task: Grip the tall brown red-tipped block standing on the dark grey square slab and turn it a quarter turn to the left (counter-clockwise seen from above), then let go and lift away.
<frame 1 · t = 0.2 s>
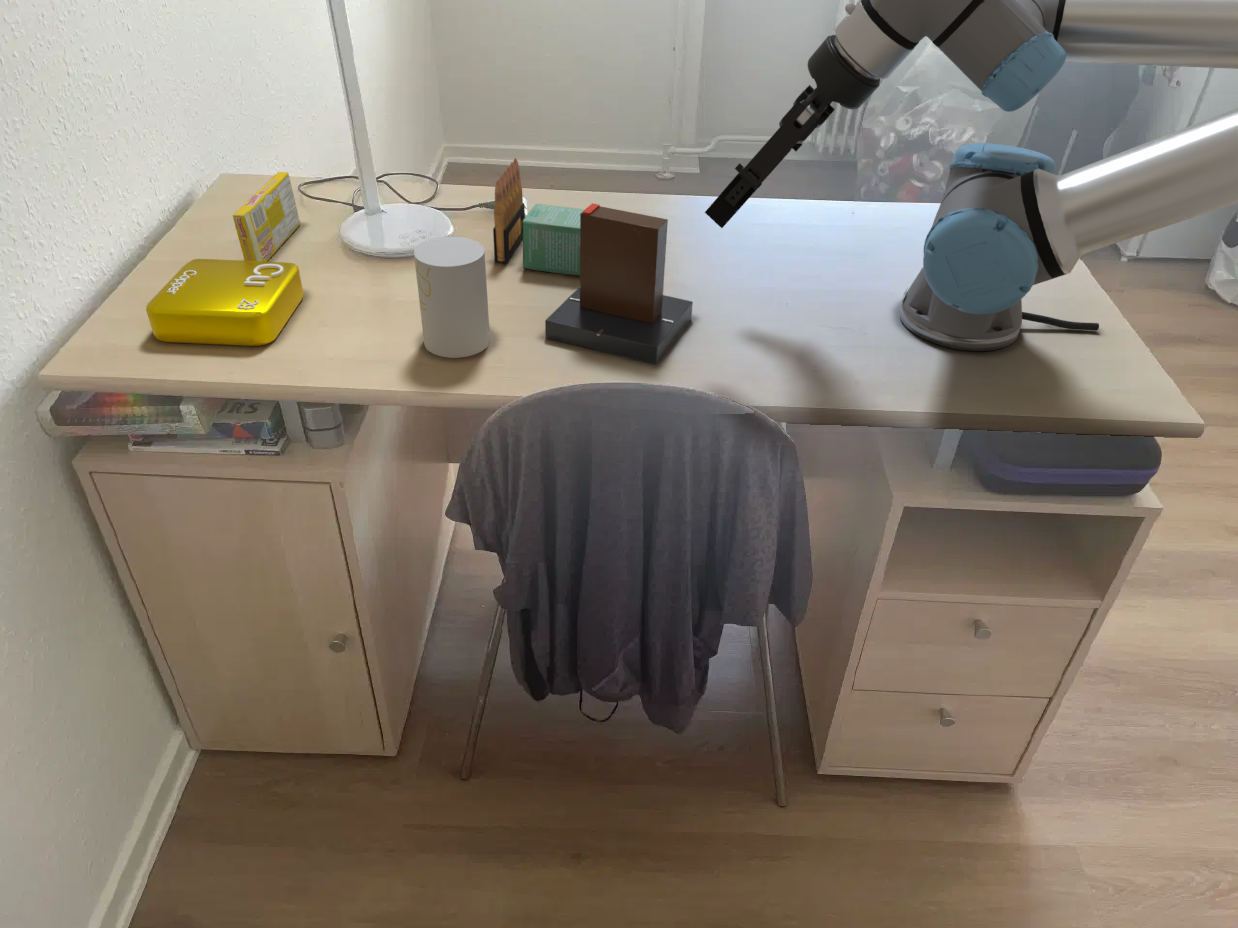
hand: (731, 200, 111), 16 cm above the table, tool tilted 35°, fingers open, 13 cm apart
ammunition clip: (510, 249, 137), on the table
dark grey square slab: (620, 328, 119), on the table
element tile: (233, 317, 118), on the table
candy box: (274, 248, 135), on the table
box: (574, 266, 133), on the table
brown red-tipped block: (622, 264, 113), point 9 cm above the table, hinge at 0.0°
cup: (457, 342, 115), on the table
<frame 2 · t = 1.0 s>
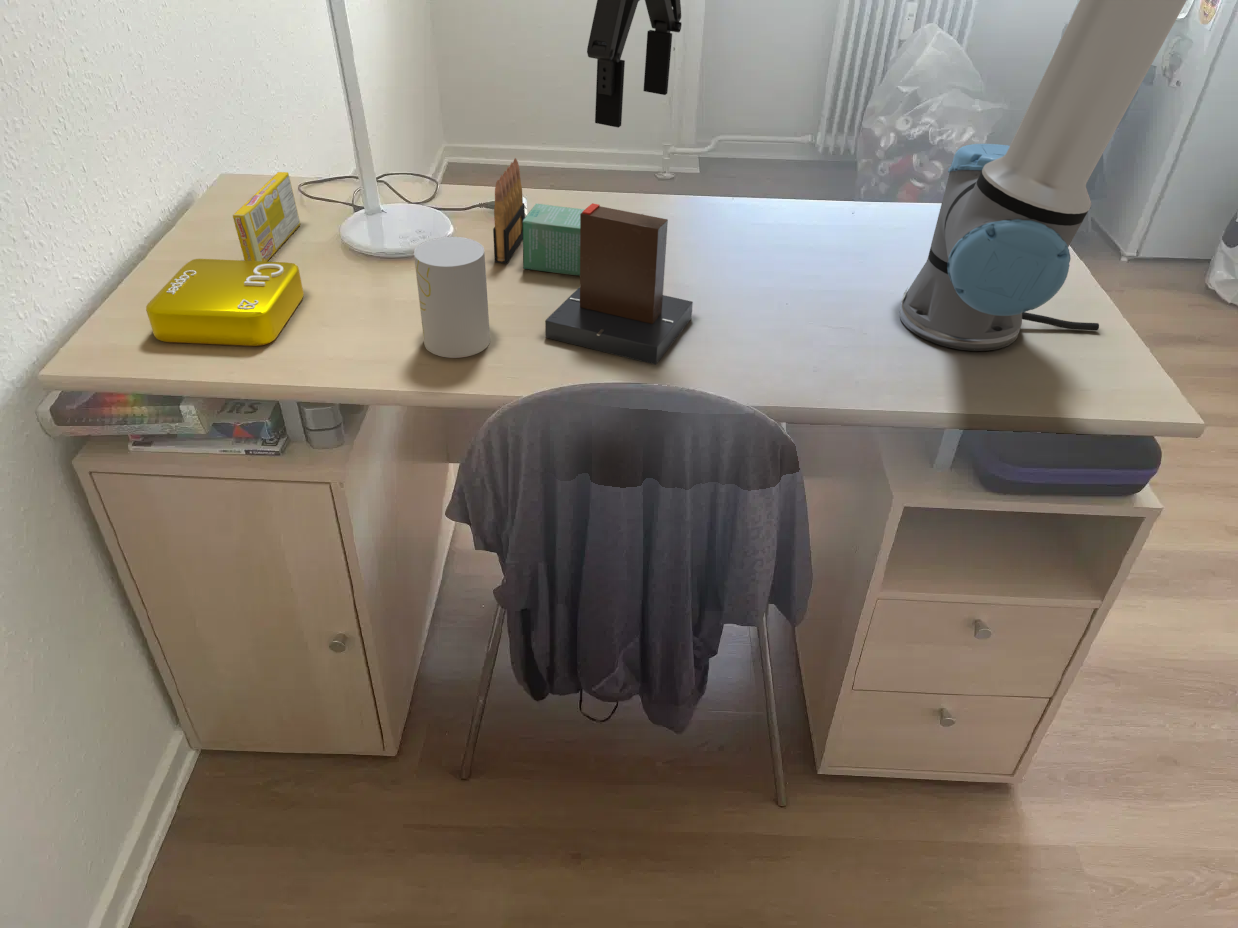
hand: (632, 108, 102), 28 cm above the table, tool pointing down, fingers open, 13 cm apart
nothing on the table moved.
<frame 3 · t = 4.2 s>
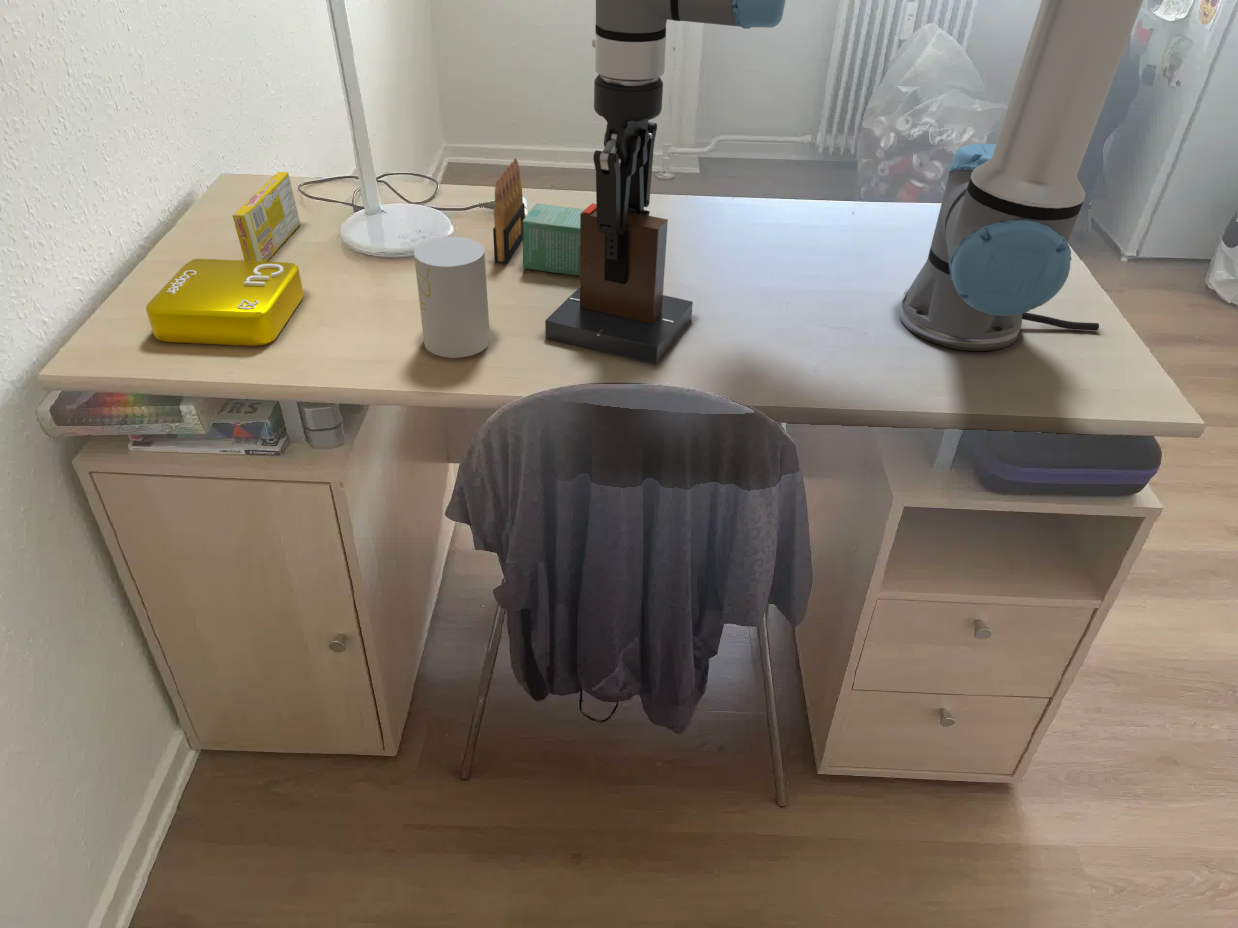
hand: (621, 274, 114), 8 cm above the table, tool pointing down, fingers closed on brown red-tipped block, 3 cm apart
brown red-tipped block: (622, 264, 113), point 9 cm above the table, hinge at 0.0°, touching gripper
everything else where it was.
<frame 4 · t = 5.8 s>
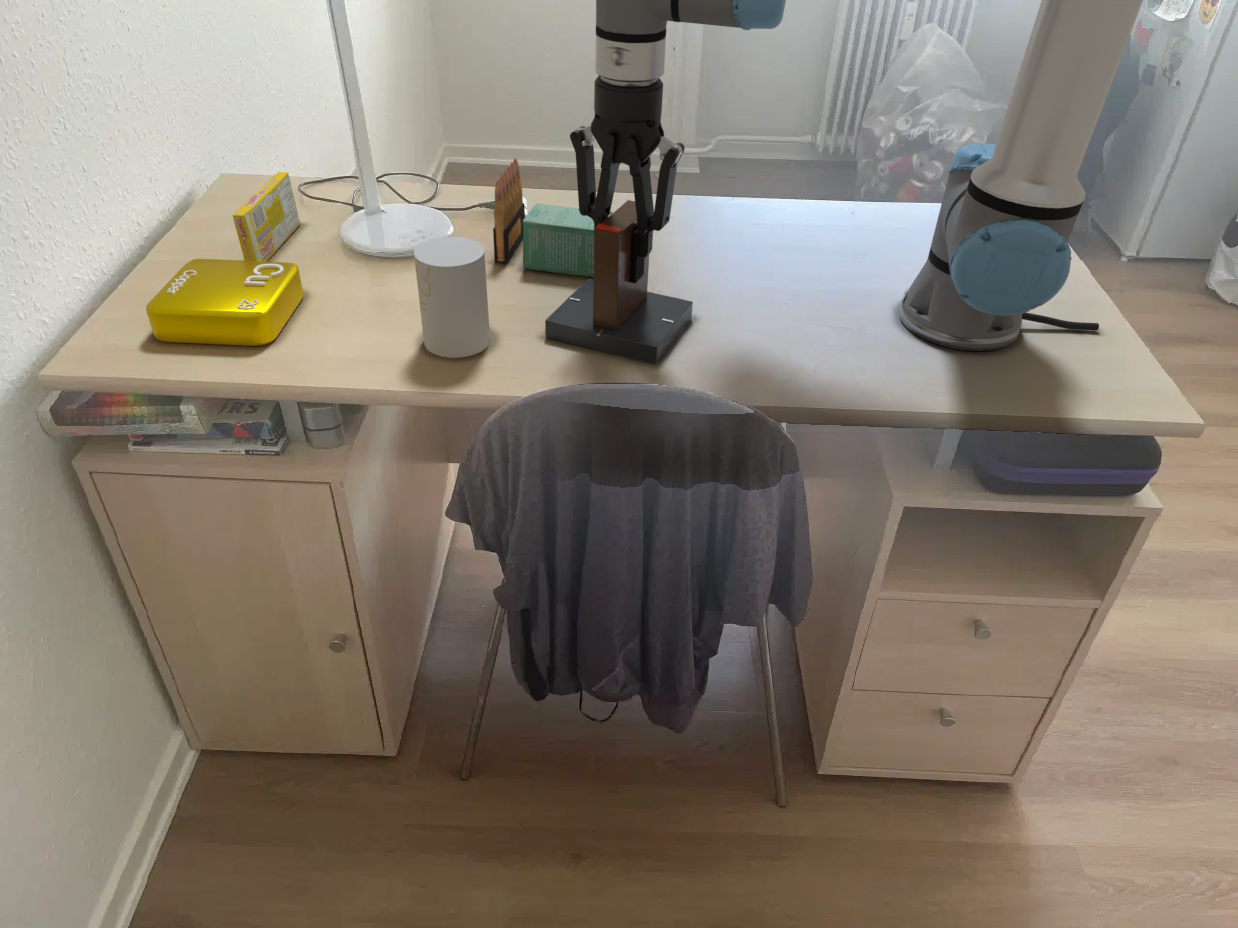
hand: (621, 274, 114), 7 cm above the table, tool pointing down, fingers open, 3 cm apart
brown red-tipped block: (622, 264, 113), point 9 cm above the table, hinge at 89.3°
everything else where it was.
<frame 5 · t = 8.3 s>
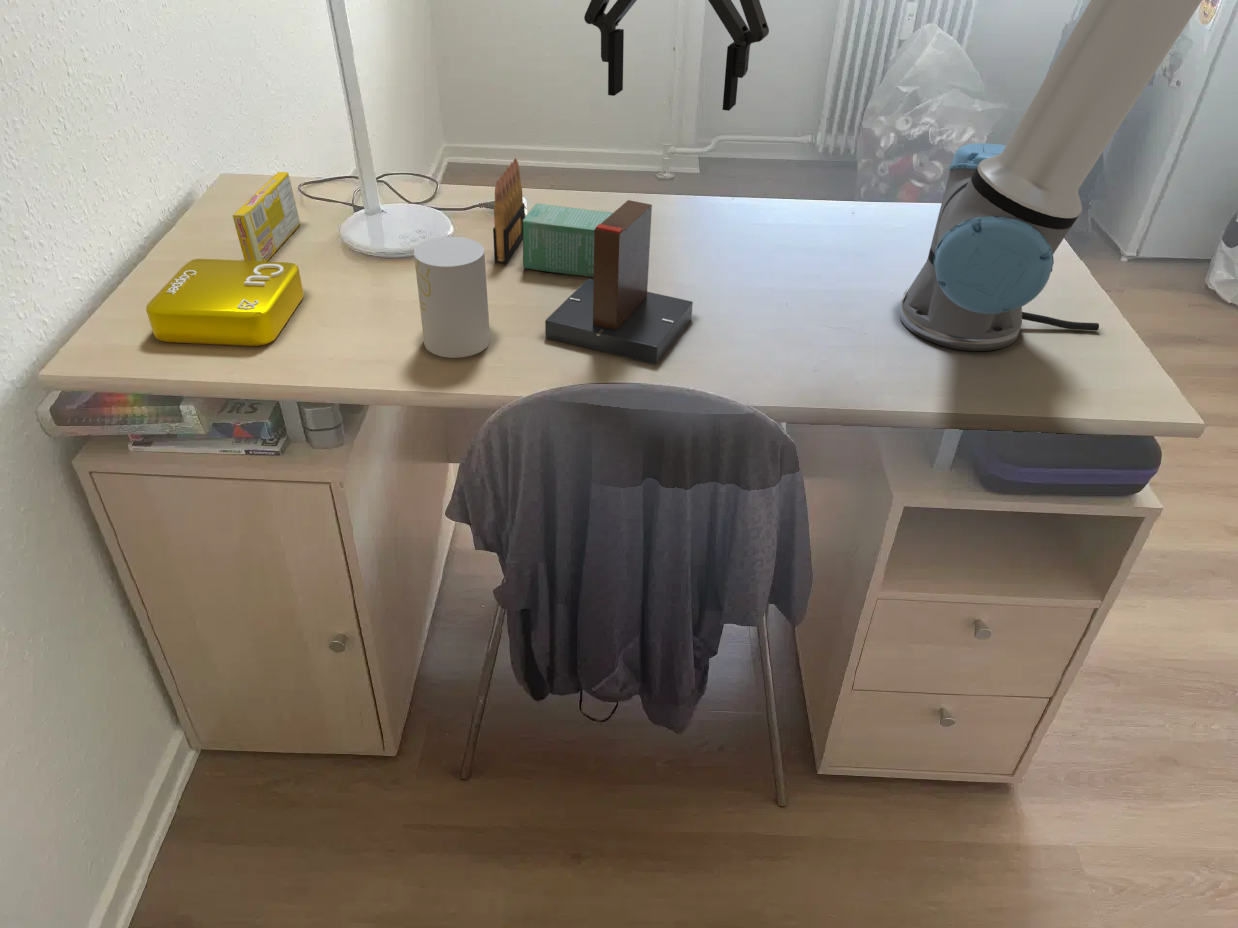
hand: (671, 100, 104), 28 cm above the table, tool pointing down, fingers open, 13 cm apart
nothing on the table moved.
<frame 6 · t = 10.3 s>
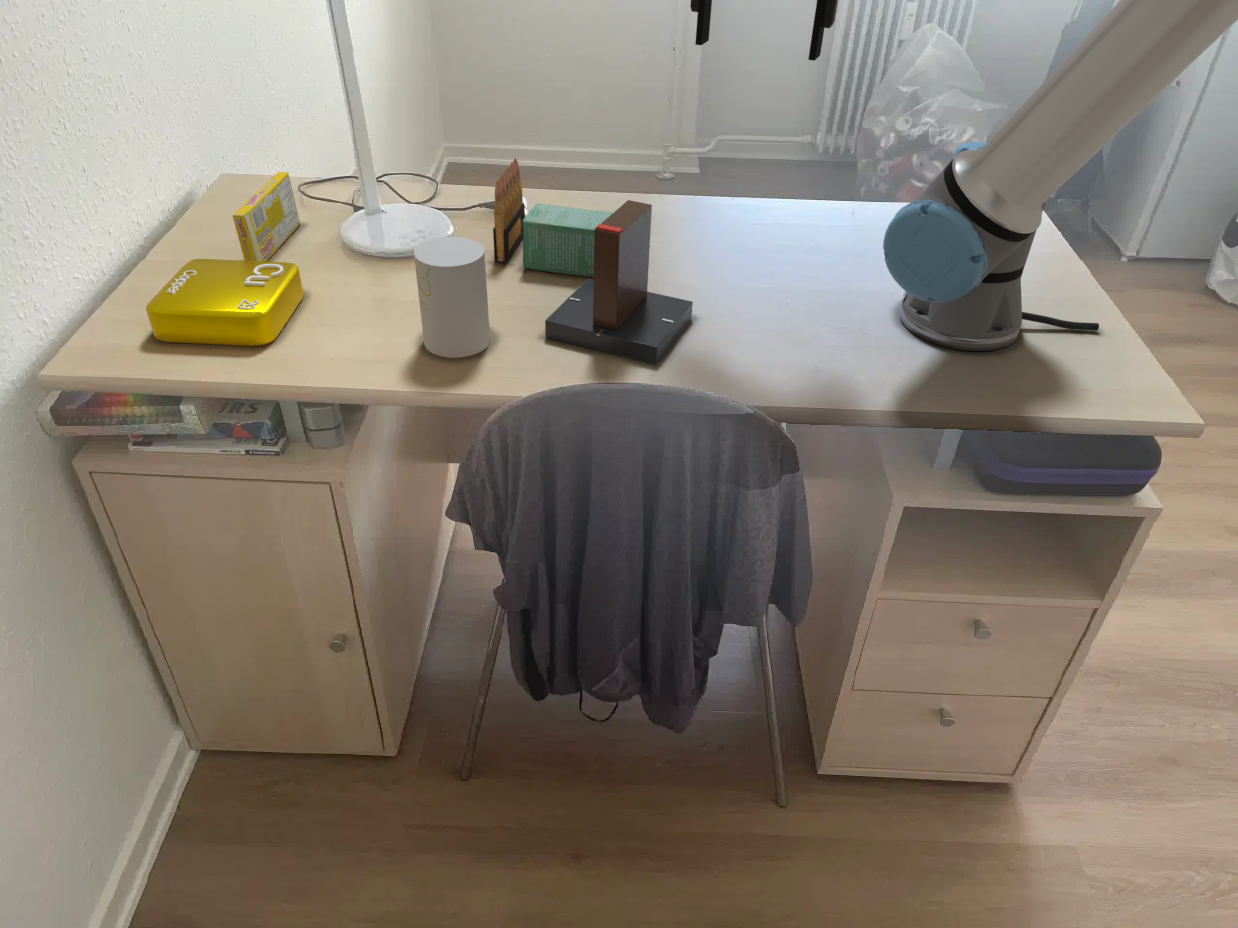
hand: (757, 50, 107), 32 cm above the table, tool pointing down, fingers open, 13 cm apart
nothing on the table moved.
at the end: brown red-tipped block at +89° (first picture: +0°); the gripper is holding nothing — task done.
